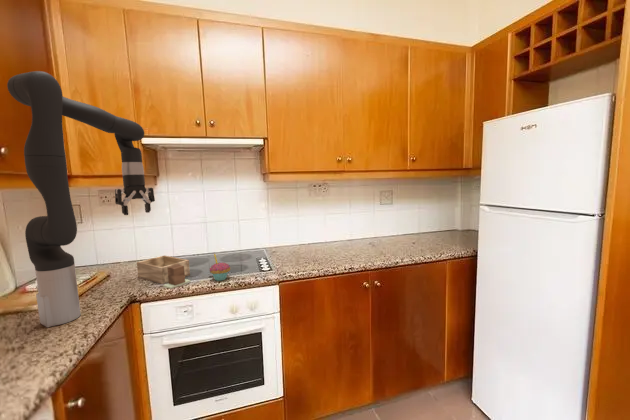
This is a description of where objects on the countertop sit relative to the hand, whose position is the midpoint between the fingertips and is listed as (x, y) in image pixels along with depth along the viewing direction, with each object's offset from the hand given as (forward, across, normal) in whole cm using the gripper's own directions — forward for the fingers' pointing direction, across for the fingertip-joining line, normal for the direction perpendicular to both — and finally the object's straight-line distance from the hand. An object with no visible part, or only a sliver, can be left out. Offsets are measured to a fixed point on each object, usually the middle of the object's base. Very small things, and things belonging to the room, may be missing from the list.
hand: (137, 213), depth 119 cm
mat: (+30, -7, +12) cm, 33 cm away
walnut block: (+30, -7, +12) cm, 33 cm away
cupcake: (+30, -20, +24) cm, 44 cm away
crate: (+30, -10, -2) cm, 32 cm away
